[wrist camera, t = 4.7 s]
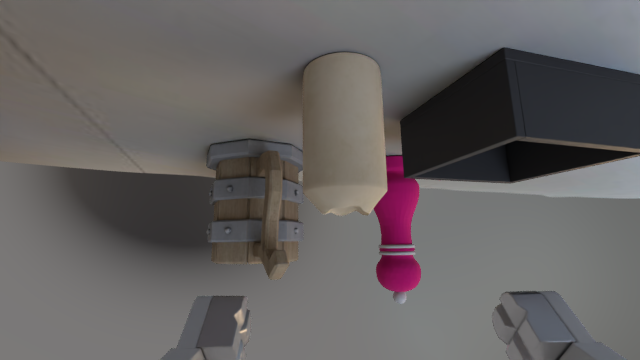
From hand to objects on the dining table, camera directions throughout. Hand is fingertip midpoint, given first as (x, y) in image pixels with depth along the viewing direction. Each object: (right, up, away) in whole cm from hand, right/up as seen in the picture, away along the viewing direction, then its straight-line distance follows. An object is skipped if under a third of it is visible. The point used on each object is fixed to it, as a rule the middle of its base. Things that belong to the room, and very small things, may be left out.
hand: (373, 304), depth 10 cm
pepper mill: (+9, +7, +36) cm, 38 cm away
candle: (0, +12, +12) cm, 17 cm away
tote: (+14, +11, +17) cm, 25 cm away
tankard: (-9, +8, +29) cm, 31 cm away
